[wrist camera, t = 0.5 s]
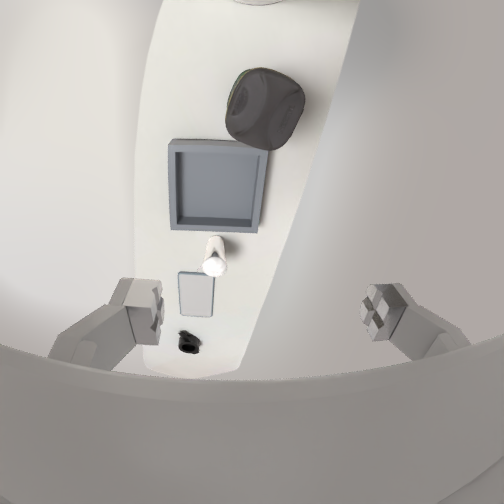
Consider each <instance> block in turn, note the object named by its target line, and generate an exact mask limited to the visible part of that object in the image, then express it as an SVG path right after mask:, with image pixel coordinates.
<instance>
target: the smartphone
mask: <svg viewBox="0 0 504 504" xmlns="http://www.w3.org/2000/svg"><path fill="white" fill-rule="evenodd" d="M178 288H179V302H180V314H181V315H183V316H197V317H211V316H212V312H213V293H214V277H211V276H208V275H207V274H205V273H195V272H179V273H178Z"/></svg>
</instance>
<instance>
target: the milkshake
mask: <svg viewBox="0 0 504 504" xmlns="http://www.w3.org/2000/svg"><path fill="white" fill-rule="evenodd" d="M201 267H202V269H203V271H204V273H205V274H207V275H208V276H211V277H220V276H221V275H223V274H224V273H225V272H226V270H227V263H226V257H225V251H224V242H223V239H222V238H221V237H220V236H216V235H215V236H212V237H210V238H209V240H208V242H207V247H206V252H205V256H204V260H203V264H202V265H201ZM201 267H200V268H201ZM200 268H199V269H200ZM199 269H198V270H197V272H198V271H199Z"/></svg>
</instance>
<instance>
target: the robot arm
mask: <svg viewBox="0 0 504 504" xmlns="http://www.w3.org/2000/svg"><path fill="white" fill-rule="evenodd" d="M234 1H237V2H240V3H244V4H250V5H267V4H272V3H276V2H279V1H282V0H234ZM161 293H162V284H161V281H160V280H149V279H137V278H135V279H134V278H121V279H120V281H119V283H118V285H117V287H116V289H115V291H114V293H113V295H112V297H111V300H110V302H109V304H108V305H103V306H101V307H100V308H98V309H97V310H95V311H94V312H92V313H91V314H89V315H88V316H86V317H84V318H83V319H82V320H80V321H78V322H77V323H75V324H74V325H72V326H71V327H70V328H68V329H67V330H65V331H63V332H62V333H60V334H59V335H58V337H57V339H56V341H55V343H54V345H53V347H52V349H51V351H50V353H49V355H48V357H47V358H46V357H42V356H38V355H34V354H31V353H27V352H24V351H20V350H17V349H14V348H10V347H8V346H4V345H2V344H0V504H504V334H502V335H499V336H497V337H494V338H491V339H488V340H485V341H483V342H480V343H477V344H473V345H471V343H470V342H469V340H468V339H467V338H466V336H465V335H464V334H463V332H462V331H461V330H460V329H459V328H458V327H456V326H454V325H453V324H451V323H450V322H448V321H446V320H445V319H443V318H441V317H439V316H438V315H436V314H434V313H433V312H431V311H429V310H427V309H426V308H424V307H422V306H418V305H417V303H416V302H415V301H414V299H413V298H412V297H411V296H410V294H409V293H408V292H407V290H406V289H405V288H404V287H403V285H402V284H400V283H391V284H371V285H369V287H368V288H367V290H366V295H367V297H366V298H365V299H364V300H363V301H362V303H361V306H360V317H361V320H362V322H363V323H364V324H366V325H367V326H368V328H367V331H368V333H369V335H370V337H371V339H372V341H382V340H389V341H390V342H391V343H393V345H395V346H396V347H397V348H398V349H399V350H400V351H402V352H403V353H404V354H405V355H406V356H407V357H409V358H410V359H411V360H412V361H411V362H406V363H402V364H397V365H392V366H387V367H381V368H375V369H370V370H363V371H356V372H349V373H341V374H334V375H325V376H314V377H303V378H290V379H270V380H200V379H181V378H168V377H156V376H146V375H137V374H129V373H122V372H115V371H111V370H112V369H113V368H114V367H115V366H116V365H117V364H118V363H119V362H120V361H121V360H122V359H123V358H124V357H125V356H126V355H127V354H128V353H129V352H130V351H131V350H132V349H133V348H134V346H136V344H143V345H158V343H159V338H160V334H161V330H160V325H161V324H163V319H164V299H163V298H162V297H161Z"/></svg>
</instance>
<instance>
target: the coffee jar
mask: <svg viewBox="0 0 504 504" xmlns="http://www.w3.org/2000/svg"><path fill="white" fill-rule="evenodd" d="M304 105H305V95H304V92H303V90H302V88H301V87H300V86H299V85H298V84H297V83H296V82H295V81H294V80H293V79H291V78H290V77H288V76H286V75H284V74H282V73H280V72H277V71H275V70H272V69H268V68H262V67H259V68H254V69H249V70H246V71H244V72H242V73H241V74H240V75H239V77H238V78H237V80H236V81H235V83H234V85H233V87H232V90H231V92H230V95H229V98H228V102H227V111H226V116H225V123H226V128H227V130H228V132H229V134H230V135H231V136H232V137H233V138H235V139H236V140H238V141H240V142H242V143H244V144H246V145H249V146H252V147H254V148H258V149H261V150H266V151H271V150H276V149H278V148H280V147H282V146H283V145H284V144H285V143H286V142H287V141H288V139H289V138H290V137H291V135H292V133H293V131H294V129H295V127H296V125H297V122H298V120H299V118H300V116H301V114H302V112H303V108H304Z"/></svg>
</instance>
